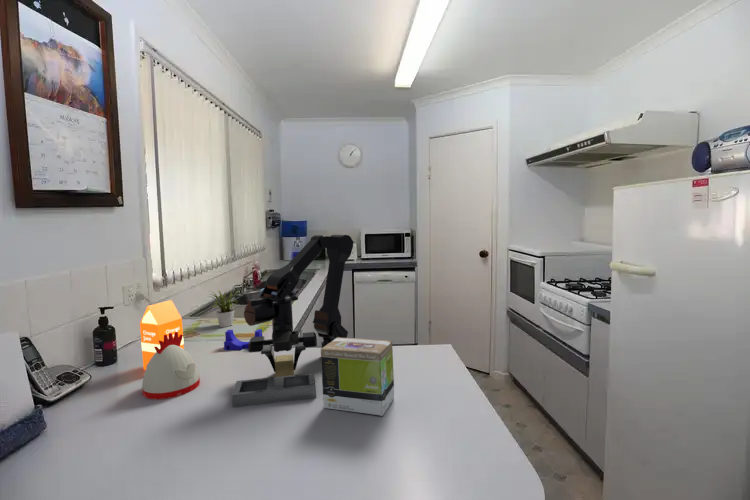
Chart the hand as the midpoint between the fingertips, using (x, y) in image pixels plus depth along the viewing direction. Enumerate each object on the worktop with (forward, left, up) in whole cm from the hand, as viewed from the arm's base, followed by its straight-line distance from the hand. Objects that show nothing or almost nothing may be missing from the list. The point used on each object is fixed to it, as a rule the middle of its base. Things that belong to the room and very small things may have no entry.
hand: (284, 370), depth 116 cm
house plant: (+27, -61, -1) cm, 67 cm away
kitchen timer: (+30, +1, -1) cm, 30 cm away
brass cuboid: (0, 0, -1) cm, 1 cm away
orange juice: (+37, -17, -1) cm, 41 cm away
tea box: (-18, +23, -1) cm, 29 cm away
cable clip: (+15, -28, -1) cm, 32 cm away
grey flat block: (+2, +13, -1) cm, 13 cm away
